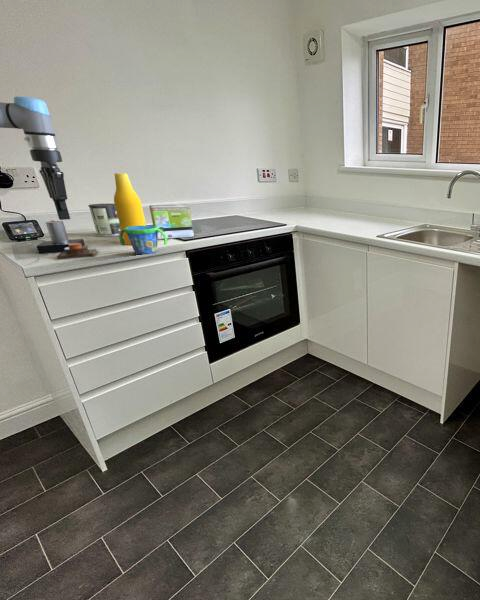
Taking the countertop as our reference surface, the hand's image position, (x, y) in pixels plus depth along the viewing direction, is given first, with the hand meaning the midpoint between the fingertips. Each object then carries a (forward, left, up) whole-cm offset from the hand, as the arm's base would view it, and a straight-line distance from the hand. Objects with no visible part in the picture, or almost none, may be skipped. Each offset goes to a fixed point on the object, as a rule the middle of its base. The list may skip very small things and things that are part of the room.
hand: (64, 219), depth 128 cm
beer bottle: (+18, +17, -14) cm, 28 cm away
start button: (+1, 0, -11) cm, 11 cm away
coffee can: (+5, +43, -14) cm, 45 cm away
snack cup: (+23, -5, -14) cm, 27 cm away
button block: (+1, 0, -14) cm, 14 cm away
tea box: (+32, +27, -14) cm, 44 cm away
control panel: (-6, +13, -14) cm, 20 cm away
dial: (-6, +13, -10) cm, 18 cm away
